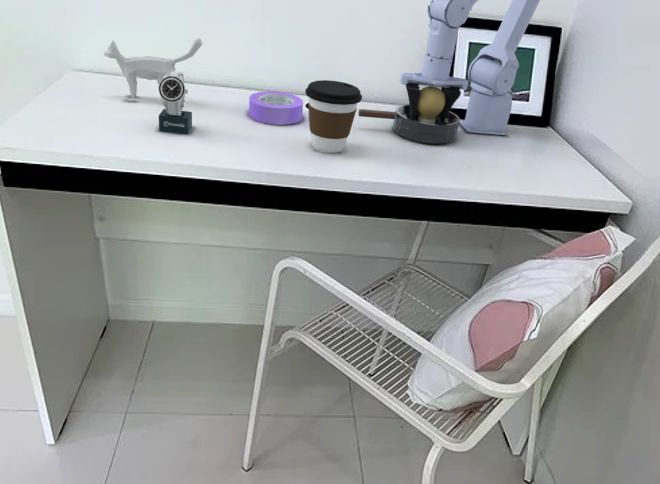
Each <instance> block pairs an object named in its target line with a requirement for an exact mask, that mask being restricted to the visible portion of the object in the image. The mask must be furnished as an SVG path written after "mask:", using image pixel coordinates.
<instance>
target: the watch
mask: <svg viewBox="0 0 660 484" xmlns="http://www.w3.org/2000/svg"><path fill="white" fill-rule="evenodd" d="M157 91H158V93H159V96H160V98H161V102H162V105H163V106H164V108H162V110H161V112H160V113H159V114H158V132H164V133H173V134H181V135H189V134H190V131H191V130H192V128H193V112H192V111H188V110H183V109H184V106H185V103H186V100H185V97H186V95H188V94H189V89H186V85H185V75H184V72H181V71H175V72H173V71H169V72H168V74H166V75H165V76H164V78H163V80H162V81H161V82H160V84H158V90H157Z"/></svg>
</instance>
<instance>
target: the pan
mask: <svg viewBox="0 0 660 484" xmlns="http://www.w3.org/2000/svg"><path fill="white" fill-rule="evenodd" d="M394 112H395V113H396V117H395V119H393V122H392V129H393V131H394V132H395V133H397V135H399V136H401V137H403V138H404V139H408V140H409V141H413V142H417V143H421V144H427V145H429V144H430V145H441V144H447V143H451V142H453V141H455V140H456V139H457V135H458V131H459V127H460V123H459V122H460V120H461V118H460V117H459V116H458V114H456V113H454V112H452V111H451V110H450V111H449V112H448V114H447V116H446V119H445V121H444V122H441V121H440V119H439V116H440V113H439V114H438V115H437V116H436V117H435V123H434V124H428V123H423V122H418V121H419V120H418V119H419V116H420V113H419V111H418V109H416V116H415V119H411V118H410V105H409V103H408V104H407V103H406V104H401V105H399V106H397V107H396V108H395V111H394Z"/></svg>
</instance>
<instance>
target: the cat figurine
mask: <svg viewBox="0 0 660 484" xmlns="http://www.w3.org/2000/svg"><path fill="white" fill-rule="evenodd" d="M202 46H203V41H202V40H201V38H200V37H199V38H196V39H195V40H193V42H192V43H191V45H190V47H189V49H188V52H186V53H184V54H183V55H181V56H178V57H175V58H165V57H159V56H151V55H143V56H133V57H125V56H124V55H123V54H121V51H120V50H119V49H118V46H117V44H116V42H115V41H114V40H112V41H111V42H110V45H108V46H107V47H108V48H107V49H106V50H105V51H104V52H103V53H104V57H107V58H109V59H115V60H116V63H117V65H118V67H119V69H120V71H121V73H122V75H123V76H124V77H125V79H126V82H127V84H128V88H129V93H130V94H129V97H130V98H128V99H126V102H135V101H134V100H135V98H136V97H137V93H138V92H137V91H138V80H137V78H141V79H145V80H147V81H153V80H155V81H156V80H157V81H156V82H157V85H159V84H160V82H161V81H162V80H163V78H164V76H165V75H166V74H168V72H169V71H173V72H176V70H177V69H176V67H175V66H176V64H177V63H180V62H183V61H186V60H188V59H190V58H192V57H194V56H195V55H196V53H197V52H198V51H199V50H200V48H201V47H202Z"/></svg>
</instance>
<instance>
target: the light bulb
mask: <svg viewBox="0 0 660 484" xmlns="http://www.w3.org/2000/svg"><path fill="white" fill-rule="evenodd" d="M419 90H420V91H421V93H420V96H419V99H418V103H417V109H418V111H419V113H420V116H419V119H418V120H419V121H418V122H423V123H428V124H434V123H435V117H436V116H437V115H438V114H439V113H440V112H441V111H442V110H443V108H444V106H445V95H444V90H442V89H440V87H435V86H425V87H422V88H421V89H419Z"/></svg>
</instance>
